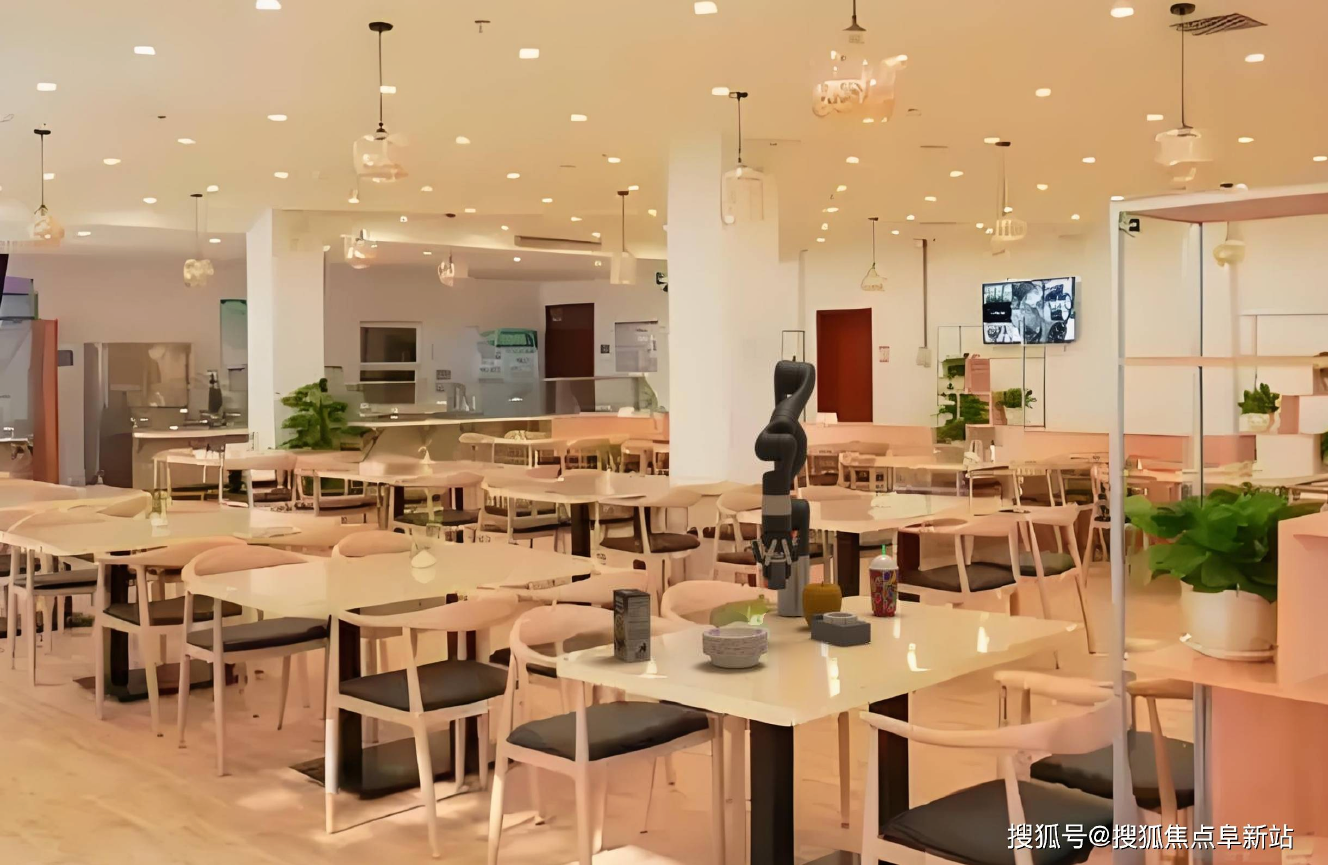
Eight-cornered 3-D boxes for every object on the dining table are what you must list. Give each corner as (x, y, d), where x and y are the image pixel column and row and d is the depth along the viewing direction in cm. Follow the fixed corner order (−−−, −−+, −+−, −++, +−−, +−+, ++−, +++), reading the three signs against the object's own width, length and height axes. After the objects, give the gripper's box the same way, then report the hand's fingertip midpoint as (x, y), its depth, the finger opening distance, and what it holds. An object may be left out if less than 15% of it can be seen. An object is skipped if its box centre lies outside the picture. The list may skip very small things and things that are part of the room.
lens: (765, 587, 324) (764, 554, 324) (782, 586, 325) (782, 553, 325) (771, 590, 319) (771, 557, 319) (788, 589, 321) (788, 556, 320)
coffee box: (612, 655, 308) (612, 589, 307) (637, 653, 310) (636, 587, 310) (626, 662, 299) (625, 594, 299) (651, 660, 302) (651, 593, 302)
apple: (823, 634, 333) (822, 585, 333) (793, 628, 341) (792, 581, 341) (850, 628, 340) (850, 581, 340) (820, 623, 349) (820, 577, 348)
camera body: (810, 638, 327) (810, 613, 327) (838, 634, 332) (838, 609, 332) (842, 646, 316) (842, 620, 316) (870, 642, 321) (870, 617, 320)
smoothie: (901, 617, 357) (900, 546, 356) (871, 617, 357) (871, 547, 356) (896, 612, 365) (895, 543, 365) (867, 612, 365) (866, 543, 365)
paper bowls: (702, 658, 304) (702, 625, 304) (766, 658, 304) (765, 625, 303) (702, 672, 289) (702, 637, 289) (769, 671, 288) (769, 637, 288)
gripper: (797, 509, 327) (797, 575, 328) (744, 511, 323) (745, 578, 324) (808, 512, 320) (808, 580, 320) (754, 514, 316) (755, 582, 317)
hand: (776, 578), depth 322 cm, fingers closed on lens, 4 cm apart
